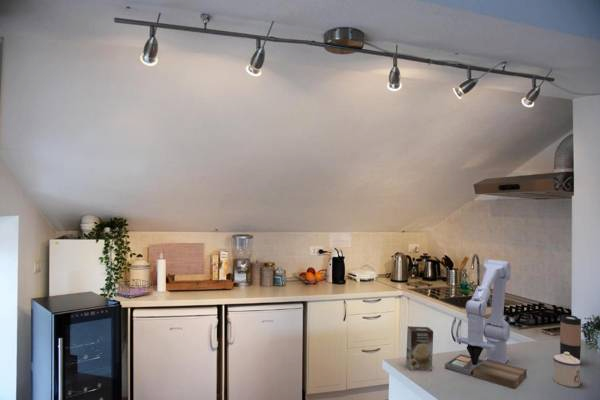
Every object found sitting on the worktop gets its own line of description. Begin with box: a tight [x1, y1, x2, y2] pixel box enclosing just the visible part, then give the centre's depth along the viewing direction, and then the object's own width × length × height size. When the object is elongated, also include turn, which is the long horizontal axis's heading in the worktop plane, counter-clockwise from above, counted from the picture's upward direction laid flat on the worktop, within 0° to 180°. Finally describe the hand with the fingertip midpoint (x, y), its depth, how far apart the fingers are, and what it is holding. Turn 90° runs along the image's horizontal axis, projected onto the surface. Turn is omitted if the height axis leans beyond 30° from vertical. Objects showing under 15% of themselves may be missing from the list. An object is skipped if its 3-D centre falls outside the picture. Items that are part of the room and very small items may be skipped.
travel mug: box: [559, 314, 582, 361], centre depth 181 cm, size 8×8×20 cm
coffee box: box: [405, 326, 434, 371], centre depth 171 cm, size 9×6×16 cm
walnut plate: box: [472, 359, 527, 390], centre depth 164 cm, size 16×15×3 cm
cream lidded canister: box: [552, 352, 582, 388], centre depth 161 cm, size 12×9×12 cm
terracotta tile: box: [456, 356, 472, 366], centre depth 175 cm, size 5×5×2 cm
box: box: [444, 353, 484, 377], centre depth 173 cm, size 16×10×2 cm, turn 137°
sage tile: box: [451, 360, 468, 369], centre depth 170 cm, size 5×5×2 cm
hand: (474, 364), depth 166 cm, fingers closed
